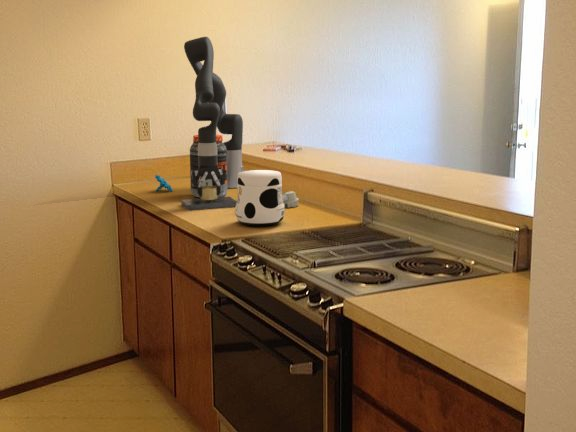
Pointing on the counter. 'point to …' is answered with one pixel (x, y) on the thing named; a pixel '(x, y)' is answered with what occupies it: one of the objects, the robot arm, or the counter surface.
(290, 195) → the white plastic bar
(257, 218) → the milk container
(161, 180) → the gear
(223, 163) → the supplement tub
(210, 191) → the brass hub
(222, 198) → the post stand
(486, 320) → the counter surface
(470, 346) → the counter surface
